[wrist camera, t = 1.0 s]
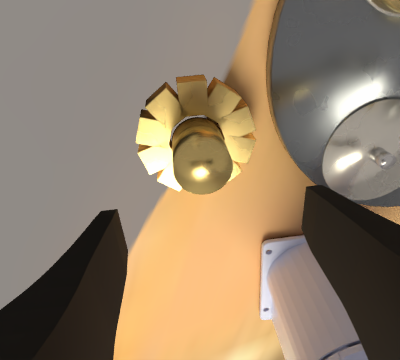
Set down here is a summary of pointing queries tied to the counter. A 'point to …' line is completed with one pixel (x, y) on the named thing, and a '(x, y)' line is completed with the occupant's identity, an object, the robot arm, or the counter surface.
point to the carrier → (339, 94)
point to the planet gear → (195, 134)
